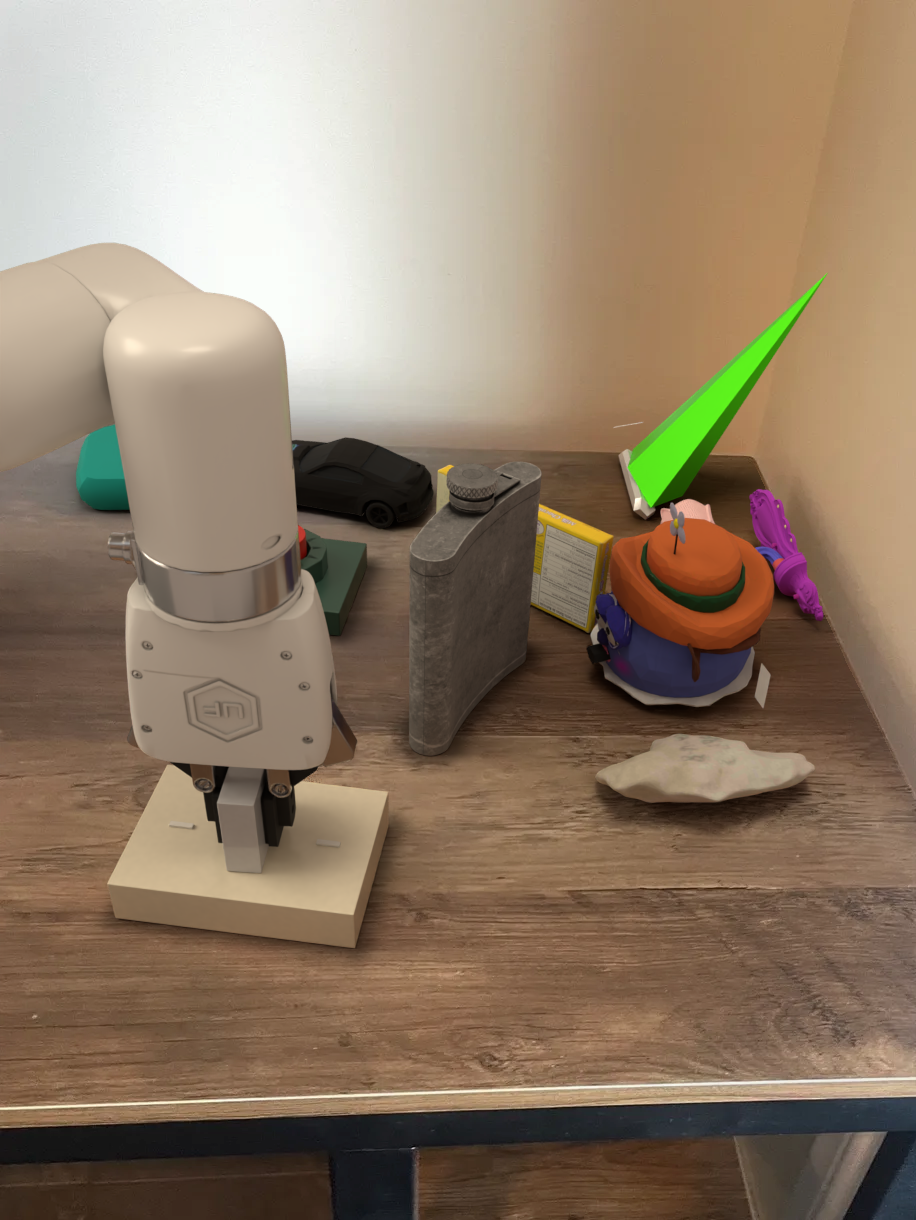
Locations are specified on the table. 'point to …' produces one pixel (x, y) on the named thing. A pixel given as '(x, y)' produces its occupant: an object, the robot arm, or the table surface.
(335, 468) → the toy car
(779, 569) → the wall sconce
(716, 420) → the paper cone
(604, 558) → the candy box
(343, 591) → the button box
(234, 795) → the tap handle
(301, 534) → the button
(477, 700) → the flask
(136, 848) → the block
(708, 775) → the stone tool
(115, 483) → the spray bottle
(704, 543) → the toy
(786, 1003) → the table surface
